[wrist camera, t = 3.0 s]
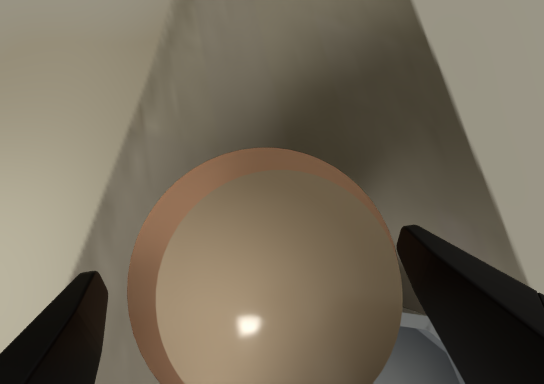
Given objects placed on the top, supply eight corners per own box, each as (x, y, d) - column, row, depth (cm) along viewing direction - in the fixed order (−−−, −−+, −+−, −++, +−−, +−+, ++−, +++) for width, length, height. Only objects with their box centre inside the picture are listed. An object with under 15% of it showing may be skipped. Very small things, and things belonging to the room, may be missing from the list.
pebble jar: (324, 295, 17) (532, 401, 5) (215, 342, 16) (151, 613, 4) (282, 190, 18) (376, 65, 6) (176, 229, 17) (26, 175, 5)
